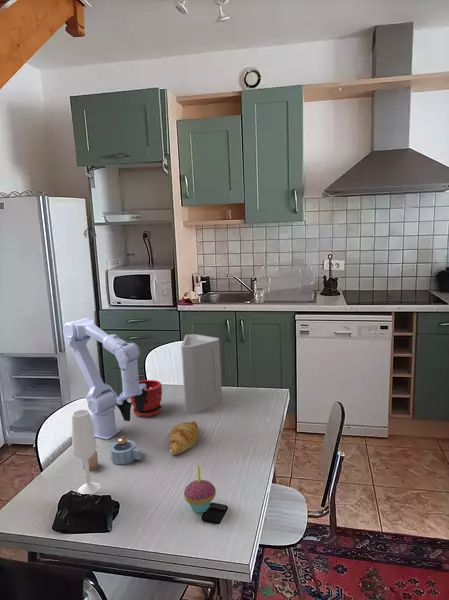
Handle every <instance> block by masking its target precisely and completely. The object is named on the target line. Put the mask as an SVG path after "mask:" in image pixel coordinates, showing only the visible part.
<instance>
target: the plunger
mask: <svg viewBox="0 0 449 600" xmlns="http://www.w3.org/2000/svg"><path fill="white" fill-rule="evenodd" d="M127 440H128V438H127V436H120V437H118V438H117V442H118V445H121V447H122V451H123V450H125V449H124V445H125V444H127Z"/></svg>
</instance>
